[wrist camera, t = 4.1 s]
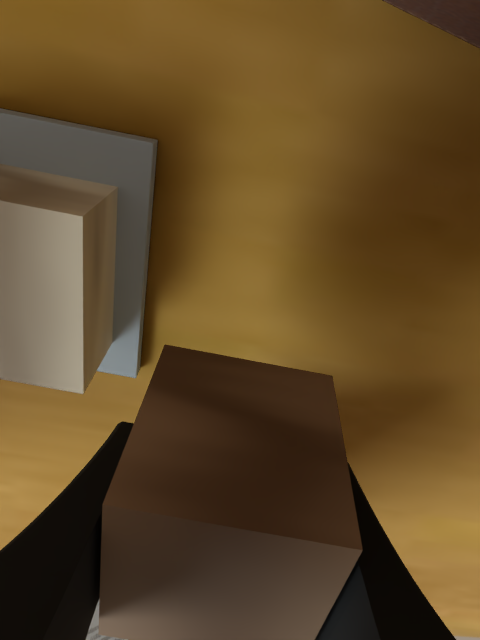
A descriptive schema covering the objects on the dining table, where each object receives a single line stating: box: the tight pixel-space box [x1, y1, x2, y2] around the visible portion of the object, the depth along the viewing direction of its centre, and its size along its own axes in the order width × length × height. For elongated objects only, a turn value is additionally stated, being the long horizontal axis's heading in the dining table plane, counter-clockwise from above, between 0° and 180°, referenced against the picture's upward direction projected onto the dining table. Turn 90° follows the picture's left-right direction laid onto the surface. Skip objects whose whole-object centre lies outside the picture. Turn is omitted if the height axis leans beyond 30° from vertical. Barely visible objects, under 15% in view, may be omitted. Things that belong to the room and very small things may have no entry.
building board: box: [0, 108, 158, 378], centre depth 16 cm, size 10×9×1 cm
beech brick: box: [0, 164, 118, 394], centre depth 14 cm, size 6×6×3 cm
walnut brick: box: [98, 345, 363, 640], centre depth 11 cm, size 5×5×5 cm
